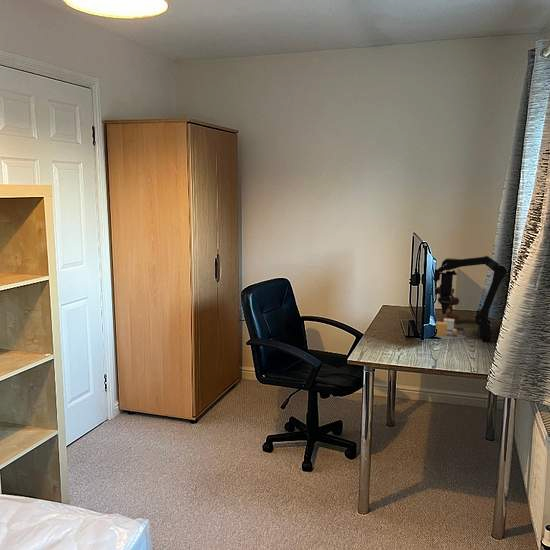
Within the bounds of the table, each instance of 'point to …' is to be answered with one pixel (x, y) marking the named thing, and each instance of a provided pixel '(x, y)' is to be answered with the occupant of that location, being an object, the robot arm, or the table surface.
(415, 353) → the table surface
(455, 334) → the plate
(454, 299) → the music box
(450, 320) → the matte ivory cube
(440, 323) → the matte amber box
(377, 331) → the table surface
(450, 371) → the table surface
